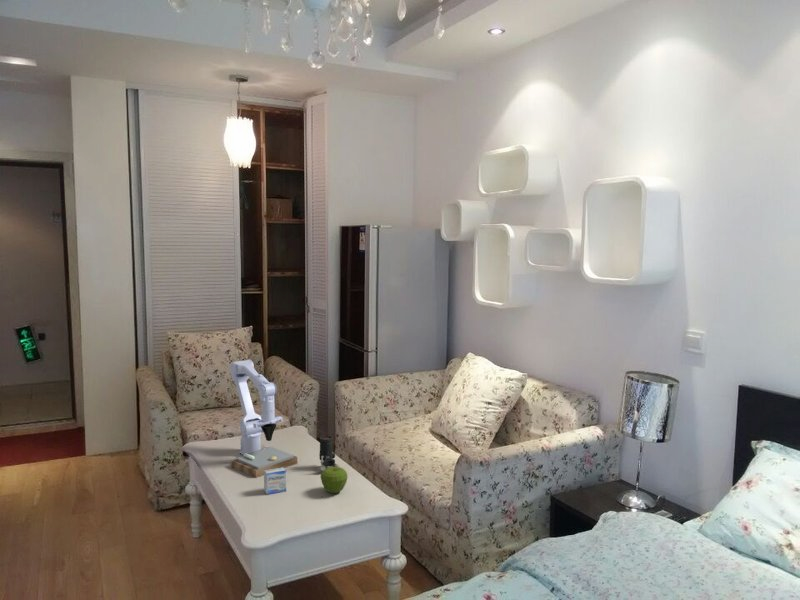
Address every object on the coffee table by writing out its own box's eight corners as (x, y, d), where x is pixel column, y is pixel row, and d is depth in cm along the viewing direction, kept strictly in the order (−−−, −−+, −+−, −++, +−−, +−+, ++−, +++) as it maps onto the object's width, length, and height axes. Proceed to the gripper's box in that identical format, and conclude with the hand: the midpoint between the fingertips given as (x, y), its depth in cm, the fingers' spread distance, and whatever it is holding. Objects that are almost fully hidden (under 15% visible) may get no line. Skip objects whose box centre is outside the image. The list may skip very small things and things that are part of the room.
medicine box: (267, 495, 238) (266, 473, 237) (264, 491, 242) (263, 469, 241) (286, 491, 241) (286, 470, 241) (283, 487, 245) (283, 466, 244)
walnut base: (231, 467, 267) (231, 460, 266) (272, 453, 283) (272, 447, 283) (256, 477, 255) (256, 470, 255) (297, 463, 271) (297, 456, 271)
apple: (316, 489, 243) (316, 465, 242) (340, 484, 248) (340, 460, 247) (327, 499, 234) (327, 474, 233) (352, 494, 239) (352, 469, 238)
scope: (320, 443, 257) (314, 436, 266) (320, 474, 258) (314, 466, 267) (339, 440, 260) (332, 433, 269) (339, 471, 262) (332, 464, 271)
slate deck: (235, 459, 267) (234, 453, 267) (270, 448, 281) (270, 443, 281) (258, 469, 256) (258, 463, 256) (293, 457, 270) (293, 451, 270)
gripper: (259, 415, 261) (260, 446, 263) (286, 408, 272) (287, 438, 274) (250, 412, 266) (250, 442, 267) (277, 405, 277) (277, 434, 278)
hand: (268, 440), depth 271 cm, fingers closed
